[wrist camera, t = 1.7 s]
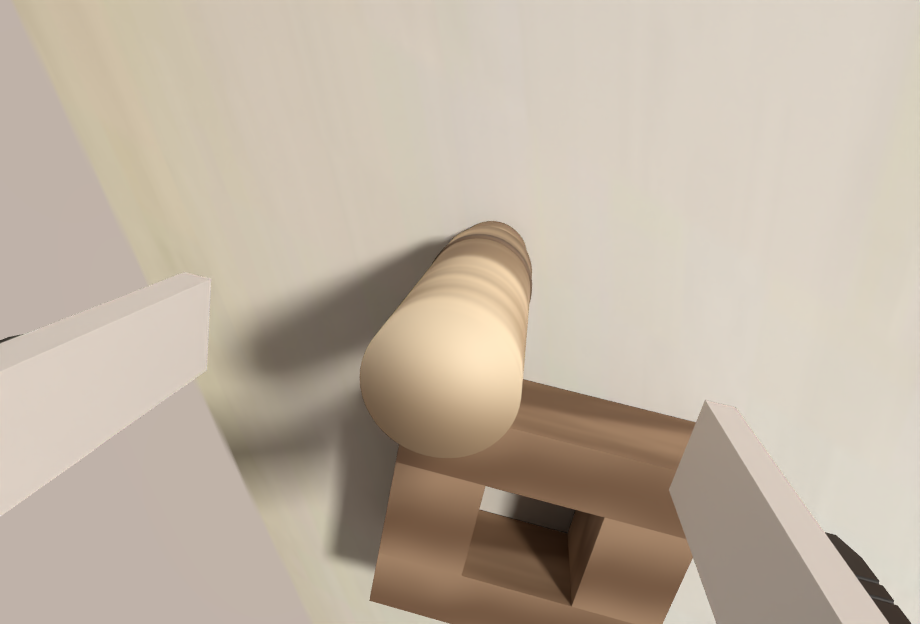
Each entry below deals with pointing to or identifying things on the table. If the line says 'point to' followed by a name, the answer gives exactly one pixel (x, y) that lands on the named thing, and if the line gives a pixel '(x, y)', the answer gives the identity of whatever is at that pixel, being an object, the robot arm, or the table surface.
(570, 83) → the table surface
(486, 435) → the peg
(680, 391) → the table surface
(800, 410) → the table surface
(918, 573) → the table surface
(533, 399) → the board
